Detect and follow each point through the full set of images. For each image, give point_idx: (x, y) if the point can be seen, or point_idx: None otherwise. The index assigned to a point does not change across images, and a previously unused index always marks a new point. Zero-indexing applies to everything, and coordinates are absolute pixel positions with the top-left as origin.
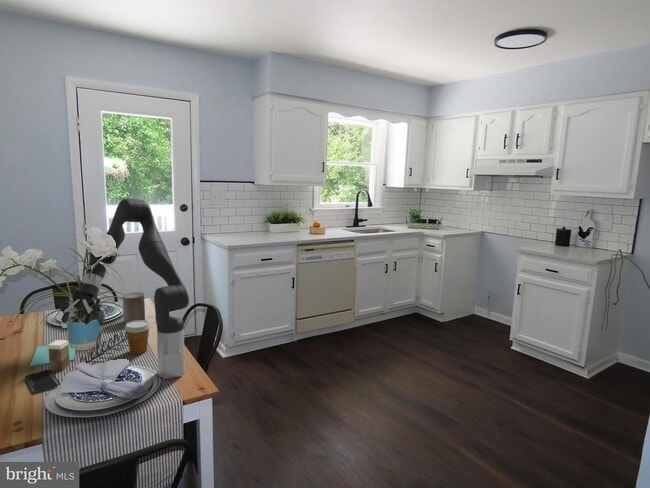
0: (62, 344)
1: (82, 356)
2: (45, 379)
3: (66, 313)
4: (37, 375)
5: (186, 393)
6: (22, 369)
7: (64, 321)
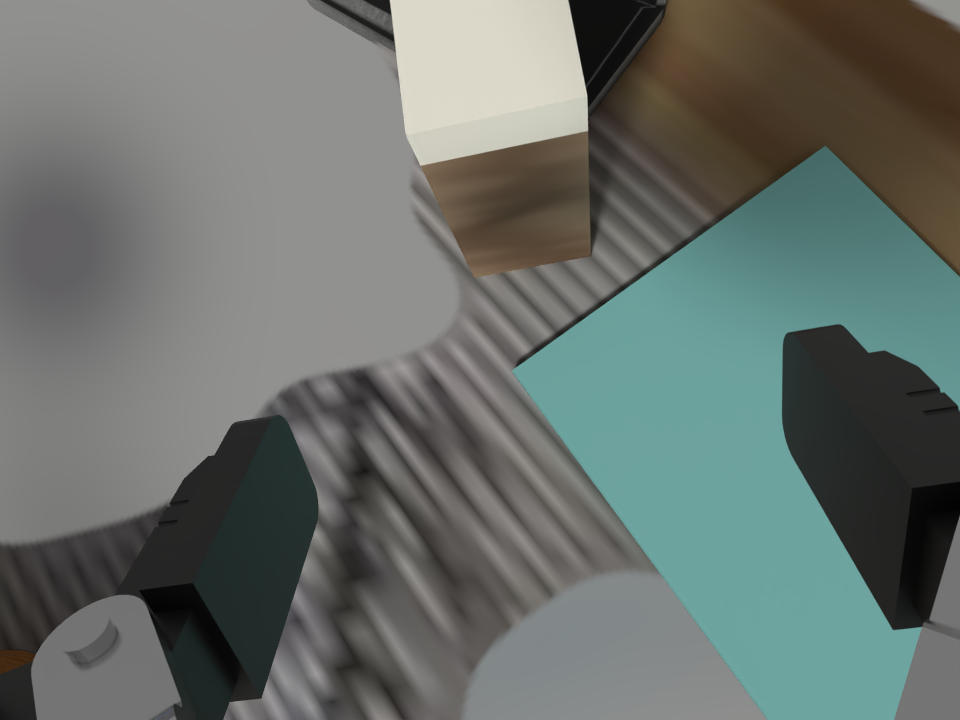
0: (393, 23)
1: (496, 483)
2: None
3: (906, 467)
4: (579, 30)
5: None
6: (838, 97)
7: (790, 371)
